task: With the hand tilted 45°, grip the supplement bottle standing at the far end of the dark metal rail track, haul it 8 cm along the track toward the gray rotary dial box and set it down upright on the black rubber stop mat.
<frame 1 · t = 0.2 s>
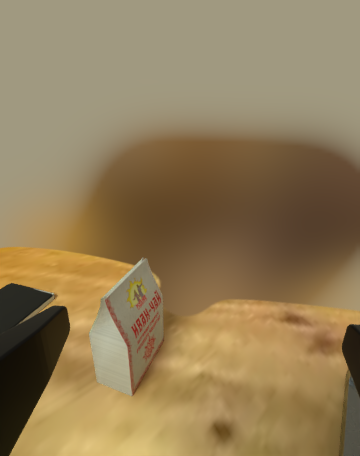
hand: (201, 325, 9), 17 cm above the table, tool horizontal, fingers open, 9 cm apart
tea bag: (133, 361, 27), on the table
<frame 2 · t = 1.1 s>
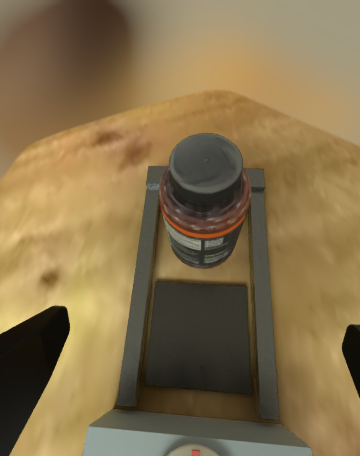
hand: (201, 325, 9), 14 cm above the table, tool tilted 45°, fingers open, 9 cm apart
supplement bottle: (202, 240, 25), resting in rail track
rail track: (200, 282, 23), on the table
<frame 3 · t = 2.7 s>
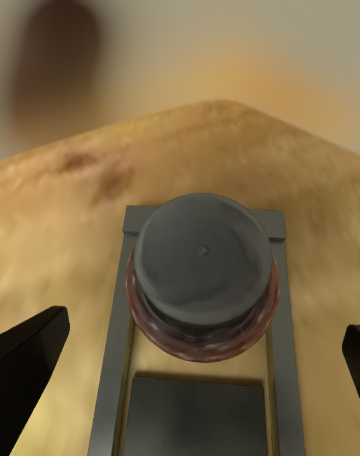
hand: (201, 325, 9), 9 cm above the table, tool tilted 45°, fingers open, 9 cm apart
supplement bottle: (199, 309, 18), resting in rail track
rail track: (197, 377, 16), on the table
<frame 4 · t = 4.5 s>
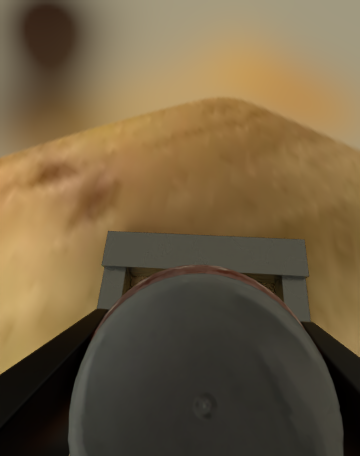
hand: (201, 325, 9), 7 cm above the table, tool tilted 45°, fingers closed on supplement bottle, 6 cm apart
supplement bottle: (198, 363, 14), resting in rail track, touching gripper
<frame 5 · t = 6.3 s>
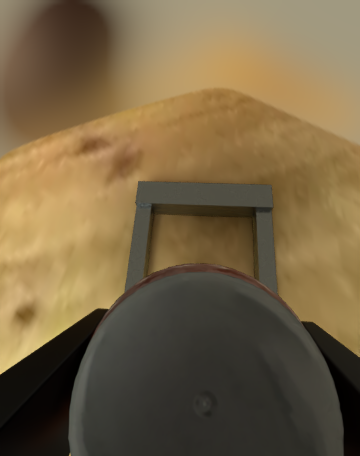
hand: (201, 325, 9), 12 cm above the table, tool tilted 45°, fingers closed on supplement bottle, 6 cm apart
supplement bottle: (198, 362, 14), point 5 cm above the table, touching gripper
rail track: (198, 320, 20), on the table
when the fingers open (8 cm above the table, at t = 8.4 s): supplement bottle stays where it is, resting on rail track.
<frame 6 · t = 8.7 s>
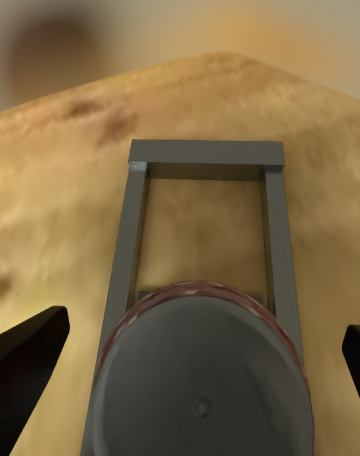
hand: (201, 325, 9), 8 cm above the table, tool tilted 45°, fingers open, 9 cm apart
supplement bottle: (197, 366, 15), resting on rail track
rail track: (200, 292, 17), on the table
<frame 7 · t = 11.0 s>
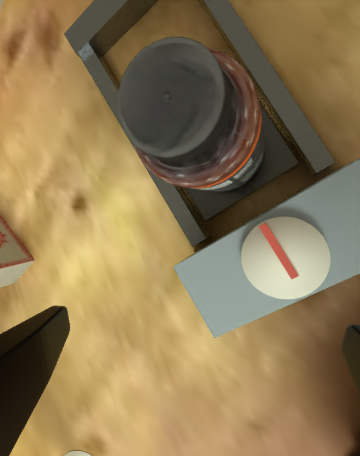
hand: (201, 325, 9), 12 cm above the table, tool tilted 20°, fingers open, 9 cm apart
gray rotary dial box: (280, 243, 20), on the table
tea bag: (8, 246, 28), on the table
supplement bottle: (223, 152, 20), resting on rail track
rail track: (195, 106, 21), on the table
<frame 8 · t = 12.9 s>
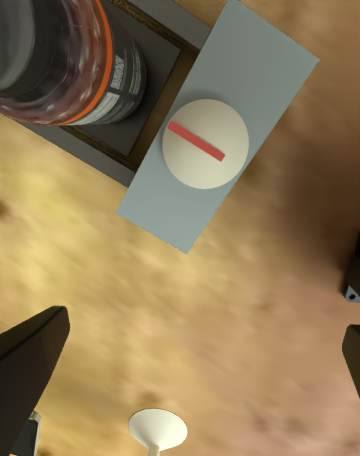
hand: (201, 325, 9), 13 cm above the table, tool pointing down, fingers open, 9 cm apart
gray rotary dial box: (204, 140, 19), on the table
champagne flute: (157, 427, 31), on the table
supplement bottle: (105, 77, 18), resting on rail track
rail track: (49, 41, 18), on the table
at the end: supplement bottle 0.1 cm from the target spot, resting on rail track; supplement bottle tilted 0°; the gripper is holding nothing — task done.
